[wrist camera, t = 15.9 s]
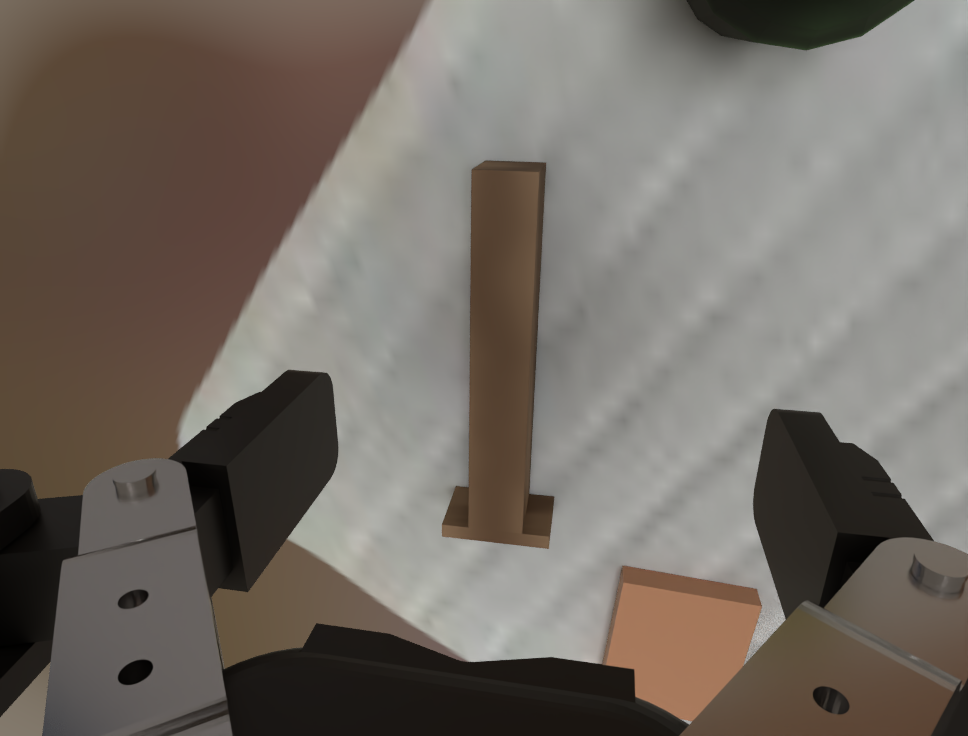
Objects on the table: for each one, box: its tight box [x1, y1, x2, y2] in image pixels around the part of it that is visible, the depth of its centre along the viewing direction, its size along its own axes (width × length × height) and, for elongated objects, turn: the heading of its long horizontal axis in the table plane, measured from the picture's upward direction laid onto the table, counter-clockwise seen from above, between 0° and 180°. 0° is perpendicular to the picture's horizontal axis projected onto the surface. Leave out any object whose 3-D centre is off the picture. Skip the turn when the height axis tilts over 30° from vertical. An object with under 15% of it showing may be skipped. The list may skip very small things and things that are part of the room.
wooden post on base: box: [442, 161, 554, 549], centre depth 35 cm, size 6×20×4 cm, turn 179°
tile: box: [602, 566, 762, 721], centre depth 42 cm, size 8×2×10 cm
